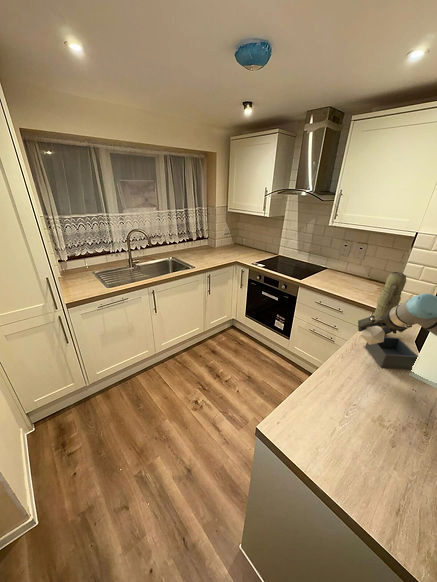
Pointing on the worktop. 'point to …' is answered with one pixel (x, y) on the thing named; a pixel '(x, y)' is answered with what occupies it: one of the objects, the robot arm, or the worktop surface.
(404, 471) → the worktop surface
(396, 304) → the green lumpy column
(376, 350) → the basin
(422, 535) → the worktop surface
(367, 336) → the die
